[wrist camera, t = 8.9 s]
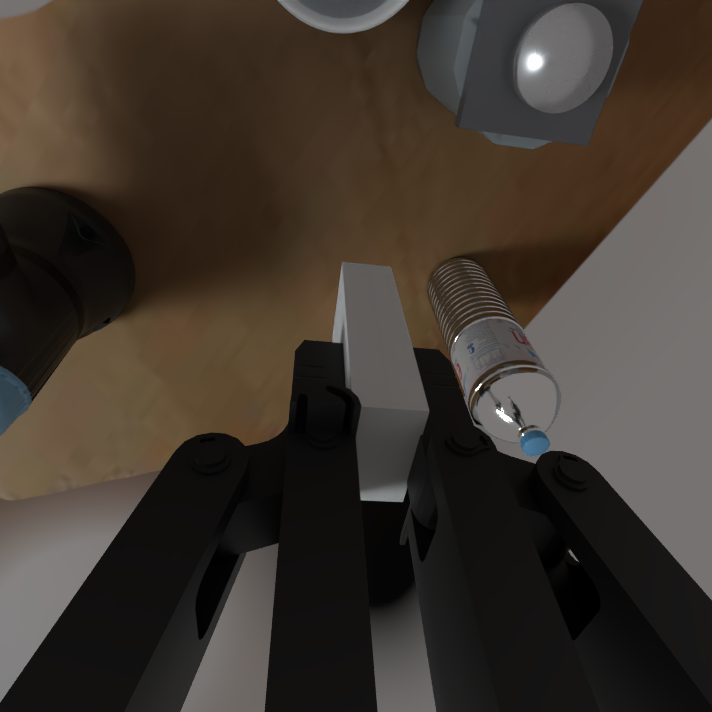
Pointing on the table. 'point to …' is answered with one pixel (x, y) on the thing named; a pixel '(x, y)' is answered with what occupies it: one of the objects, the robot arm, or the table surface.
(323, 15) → the mug
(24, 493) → the table surface
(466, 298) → the water bottle
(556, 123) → the carafe
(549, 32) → the plunger
